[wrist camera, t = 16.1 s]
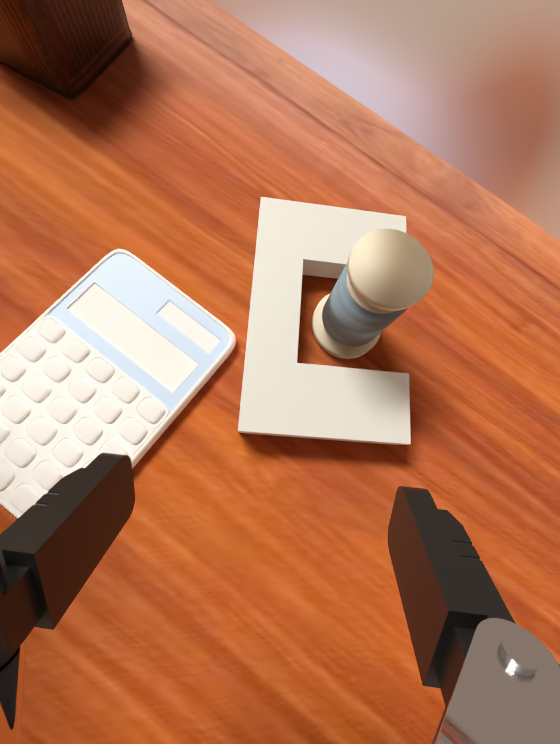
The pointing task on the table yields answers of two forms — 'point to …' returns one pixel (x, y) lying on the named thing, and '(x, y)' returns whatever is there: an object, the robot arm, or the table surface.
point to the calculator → (101, 375)
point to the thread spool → (372, 292)
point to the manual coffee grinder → (62, 40)
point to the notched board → (281, 333)
